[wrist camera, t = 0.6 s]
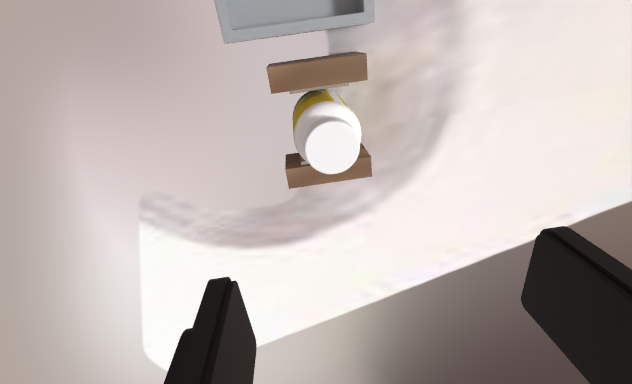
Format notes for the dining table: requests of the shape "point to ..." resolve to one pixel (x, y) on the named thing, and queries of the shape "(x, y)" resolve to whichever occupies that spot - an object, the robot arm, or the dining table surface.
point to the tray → (288, 17)
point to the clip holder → (317, 77)
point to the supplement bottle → (326, 131)
